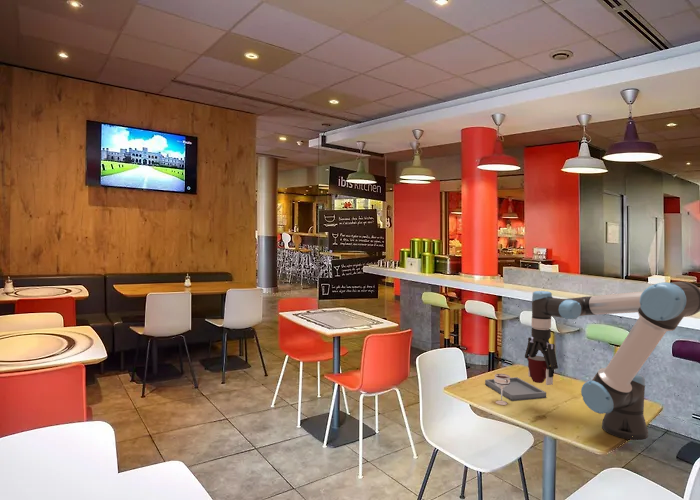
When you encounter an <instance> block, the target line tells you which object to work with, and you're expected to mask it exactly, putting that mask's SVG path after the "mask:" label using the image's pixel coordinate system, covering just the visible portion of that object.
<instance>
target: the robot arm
mask: <svg viewBox="0 0 700 500" xmlns="http://www.w3.org/2000/svg"><path fill="white" fill-rule="evenodd" d="M552 295H553V293H552V292H550V291H549V290H547V291H545V290H536V291H533V292H532V299H531V327H532V328H531V335H530V337H528V338H527V345H526V350H525V353H524V358H525V359H526V360H527V361H528V357H529V356H531V357H536V356H538V353H539V351H540V353H541V354H542V357H544V359H545V362H546V365H547V367H548V368H546V379H545V386H550V385H551V386H552V385H553V384H554V374H555V373H554V371H555V370H556V369H558V368H559V366H558V362H557V357H556V356H557V355H556V351H555V348H556V347H555V343H550V339H551V338H552V329H551V327H552V317H557V318H561V319H565V320H577V319H578V318H579V317H582V316H583V317H584V316H598V315H614V314H615V315H616V314H634V313H637V314H638V316H639V317H638V318H637V320H636V321H635V323H634V325H633V326H632V328H631V329H630V331H629V333H628V334H627V336H626V337H625V339H624V340H623V341H622V343H621V345H620V346H619V348H618V349H617V351H616V352H615V353H614V355H613V356H612V358H611V360H610V361H609V363H608V364H607V366H606V367H605V368H604V367H602V368H601V367H600V369H598V371H597V372H596V374H595V375H594V377H593V378H592V379H590V380H587V381H586V382H584V383H583V385H582V386H581V389H580V390H581V391H580V392H581V397H582V400H583V402H584V403H585V405H586V406H587V408H589V409H590V410H591V411H592V412H594V413H598V414H604V417H603V418H602V420H601V421H602V422H601V429H602V430H603V431H605V432H606V433H608V434H610V435H612V436H615V437H618V438H621V439H626V440H633V441H641V440H646V439H648V438H649V428H648V426H647V422H646V419H645V415H644V408H645V389H646V382H645V381H646V380H645V377H644V376H643V375H641V374H640V373H638V372H639V371H640V370H641V369H642V367H643V365H644V364H646V363H645V362H647V360H648V358H649V357H650V356H651V354H652V353H653V352H654V350H655V349H656V347H657V346H658V344H659V343H660V342H661V340H662V339H663V337H664V336H665V334H666V332H671V331H674V330H676V329H677V327H678V326H679V324H680V323H681V322H682V320H683V319H684V318H686V317H693V316H694V315H696V314H697V313H699V312H700V288H699V287H698V286H697V285H695V284H693V283H691V282H689V281H674V282H673V281H672V282H666V281H665V282H657V283H655V284H651V285H650V286H648V287H647V288H645V289H644V290H643V291H634V292H633V291H632V292H631V291H630V292H622V293H613V294H612V293H611V294H601V295H593V296H592V295H590V296H587V295H586V296H579V297H568V298H557V297H553V296H552ZM527 368H528V371H527V372H528V377H529V378H531V376H530V372H529V366H528V365H527ZM632 436H633V437H632Z"/></svg>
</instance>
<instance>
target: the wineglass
mask: <svg viewBox="0 0 700 500" xmlns="http://www.w3.org/2000/svg"><path fill="white" fill-rule="evenodd" d="M509 378H511V376H510V375H509V374H505V373H495V374H494V378H493V379H494V382H495V384H496V385H497V386H498V387H500V388H501V394H500V400H496V401H495V404H497V405H501V406H507V405H508V402H507V401H504V400H503V395H502V394H503V389H504V388H506V387H507V386H509V384H510V379H509Z"/></svg>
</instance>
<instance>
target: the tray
mask: <svg viewBox="0 0 700 500" xmlns="http://www.w3.org/2000/svg"><path fill="white" fill-rule="evenodd" d="M509 379H510V384H509V386H507V387H506V388H504V389H503V394H502V397H504V398H506V399H508V400H510V401H511V402H514V401H515V402H516V401H525V400H537V399H546V398H547V392H546V391H544V390H542V389H541V388H539V387H537V386H535V385H533V384H531V383H529V382H527V381H526V380H523V379H521V378H520V377H517V376H516V377H510V378H509ZM484 381H485V382H484V385H485V386H487V387H488V388H489V389H492V390H493V391H495V392H497V393H498V394H499V395H501V388H500V387H498V386H497V385H496V384H495V382H494V378H492V379H490V378H489V379H485V380H484Z"/></svg>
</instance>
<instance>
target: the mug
mask: <svg viewBox="0 0 700 500" xmlns="http://www.w3.org/2000/svg"><path fill="white" fill-rule="evenodd" d="M528 366H529V368H528V370H529V372H530V376H531V377H530V378H531V380H532V381H533V382H534V383H537V384H542V383H544V381H546V368H548V367H547V365H546V362H545V359H544V356H543V355H542V356H541V355H536V357H531V356H529V357H528V360H527V367H528Z"/></svg>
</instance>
